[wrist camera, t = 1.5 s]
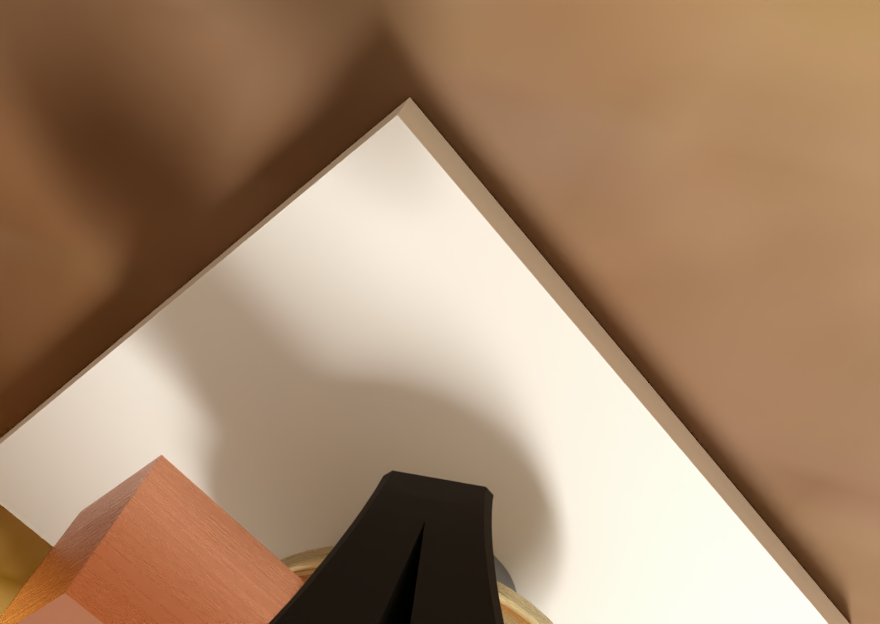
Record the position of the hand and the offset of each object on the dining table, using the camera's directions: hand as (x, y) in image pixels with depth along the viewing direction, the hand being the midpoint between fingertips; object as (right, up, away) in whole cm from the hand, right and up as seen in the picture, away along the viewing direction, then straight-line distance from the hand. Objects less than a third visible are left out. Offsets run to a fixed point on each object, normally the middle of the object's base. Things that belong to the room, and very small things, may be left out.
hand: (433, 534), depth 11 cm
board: (-1, -2, +9) cm, 9 cm away
